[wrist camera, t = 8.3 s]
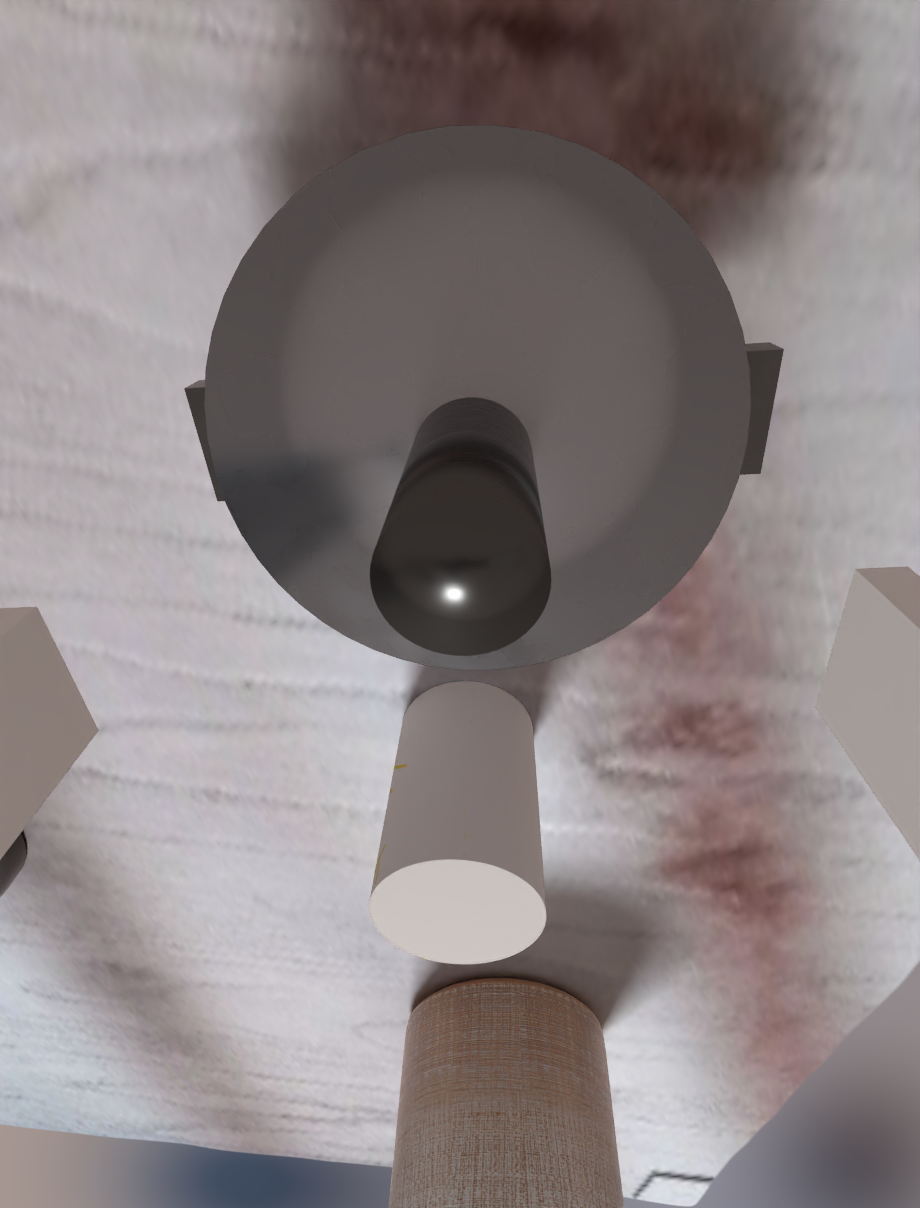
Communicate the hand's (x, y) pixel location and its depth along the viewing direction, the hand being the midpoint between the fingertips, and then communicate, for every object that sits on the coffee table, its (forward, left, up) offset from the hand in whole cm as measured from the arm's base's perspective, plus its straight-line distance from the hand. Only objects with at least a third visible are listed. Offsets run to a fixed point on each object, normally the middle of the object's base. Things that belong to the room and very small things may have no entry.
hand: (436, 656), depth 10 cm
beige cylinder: (-2, -21, -21) cm, 29 cm away
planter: (-1, -57, -21) cm, 61 cm away
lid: (0, 0, -11) cm, 11 cm away
